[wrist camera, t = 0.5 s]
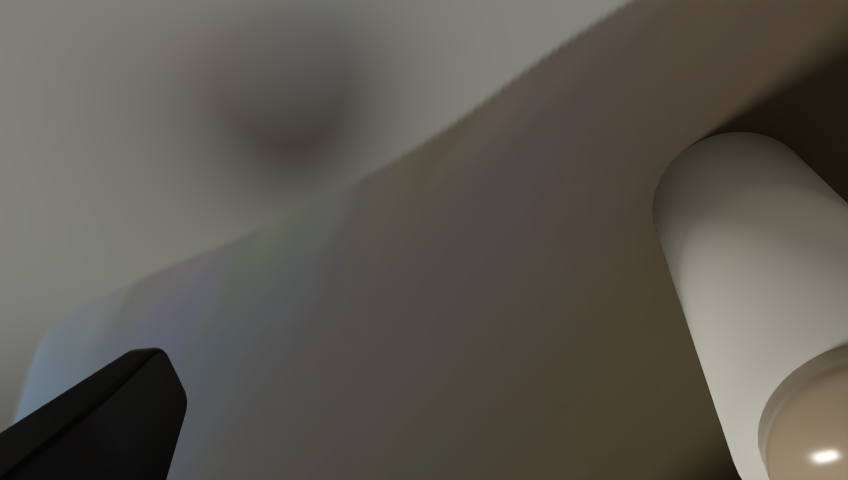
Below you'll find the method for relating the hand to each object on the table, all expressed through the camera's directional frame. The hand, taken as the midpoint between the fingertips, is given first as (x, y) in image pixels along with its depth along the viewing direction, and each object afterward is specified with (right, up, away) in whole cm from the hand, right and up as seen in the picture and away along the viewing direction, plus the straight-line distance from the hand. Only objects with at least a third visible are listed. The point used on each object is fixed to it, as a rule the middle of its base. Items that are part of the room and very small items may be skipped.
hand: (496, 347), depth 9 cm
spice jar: (+9, +2, +15) cm, 18 cm away
